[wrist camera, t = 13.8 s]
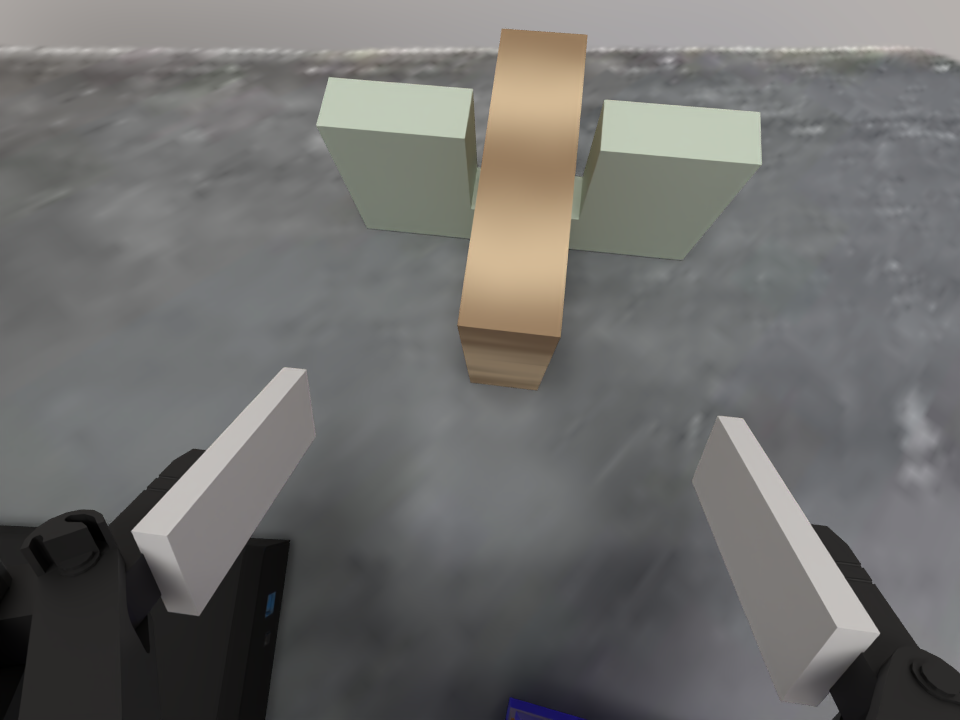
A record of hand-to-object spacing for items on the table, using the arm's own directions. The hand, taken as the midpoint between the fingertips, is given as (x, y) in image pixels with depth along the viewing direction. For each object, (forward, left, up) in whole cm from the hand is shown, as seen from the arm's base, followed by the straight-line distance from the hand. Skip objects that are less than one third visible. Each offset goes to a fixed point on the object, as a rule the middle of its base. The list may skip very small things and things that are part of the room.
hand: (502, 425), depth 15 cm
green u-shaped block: (0, +13, -9) cm, 15 cm away
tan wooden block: (0, +10, -9) cm, 13 cm away
